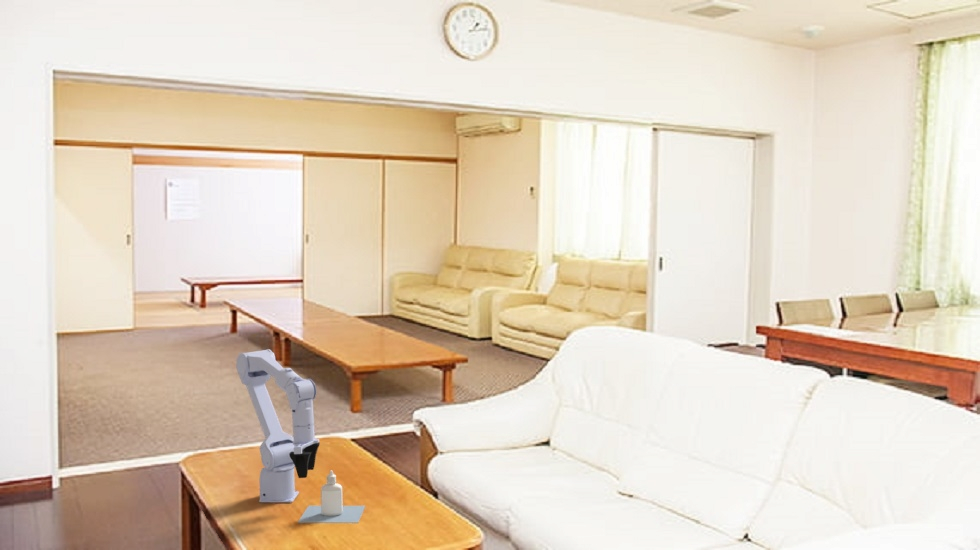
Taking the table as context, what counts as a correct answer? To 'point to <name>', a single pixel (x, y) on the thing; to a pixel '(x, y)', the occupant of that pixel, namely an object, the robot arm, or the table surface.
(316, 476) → the table surface
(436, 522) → the table surface
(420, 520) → the table surface
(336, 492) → the eye dropper bottle
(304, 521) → the mat
